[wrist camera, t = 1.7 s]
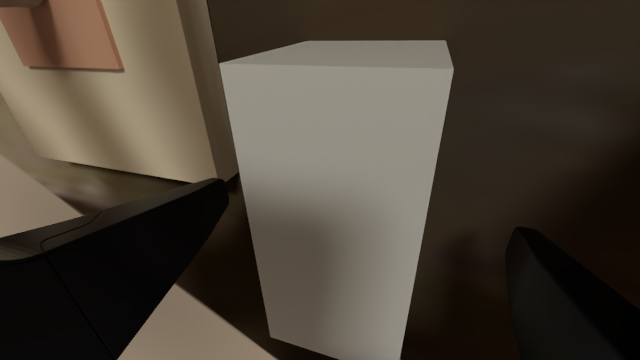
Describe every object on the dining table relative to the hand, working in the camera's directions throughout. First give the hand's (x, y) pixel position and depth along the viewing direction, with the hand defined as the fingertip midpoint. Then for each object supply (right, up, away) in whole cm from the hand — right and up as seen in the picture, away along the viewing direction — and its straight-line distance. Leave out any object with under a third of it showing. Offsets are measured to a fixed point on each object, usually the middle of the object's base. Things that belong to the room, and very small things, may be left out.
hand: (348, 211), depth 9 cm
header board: (-11, +10, +2) cm, 15 cm away
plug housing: (+1, +1, +3) cm, 3 cm away
